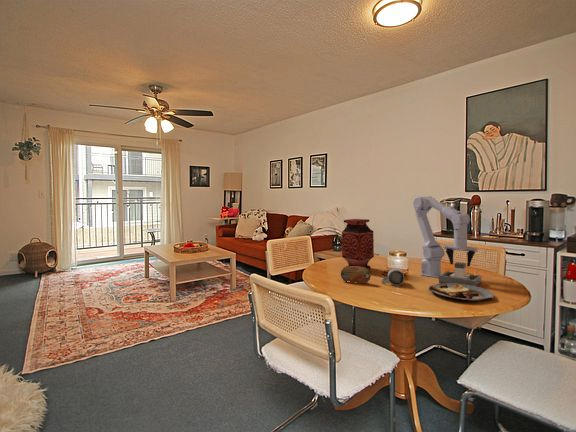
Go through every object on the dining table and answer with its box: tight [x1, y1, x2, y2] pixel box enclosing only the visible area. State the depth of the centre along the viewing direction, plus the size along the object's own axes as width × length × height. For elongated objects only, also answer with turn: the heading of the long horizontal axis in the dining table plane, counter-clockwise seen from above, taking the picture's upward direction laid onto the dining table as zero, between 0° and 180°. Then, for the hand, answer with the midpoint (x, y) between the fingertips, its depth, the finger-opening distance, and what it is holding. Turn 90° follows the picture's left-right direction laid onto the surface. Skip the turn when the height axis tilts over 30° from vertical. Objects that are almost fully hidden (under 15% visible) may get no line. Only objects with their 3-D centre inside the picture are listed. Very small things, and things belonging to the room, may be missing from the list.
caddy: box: [438, 271, 482, 287], centre depth 158 cm, size 16×12×4 cm
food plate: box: [428, 283, 495, 302], centre depth 140 cm, size 25×23×4 cm
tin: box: [340, 265, 372, 284], centre depth 163 cm, size 15×3×8 cm, turn 65°
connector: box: [454, 261, 467, 277], centre depth 158 cm, size 4×4×9 cm
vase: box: [341, 218, 375, 270], centre depth 192 cm, size 14×14×30 cm
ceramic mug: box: [380, 268, 405, 287], centre depth 160 cm, size 11×8×8 cm
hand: (460, 265), depth 158 cm, fingers open, 7 cm apart
